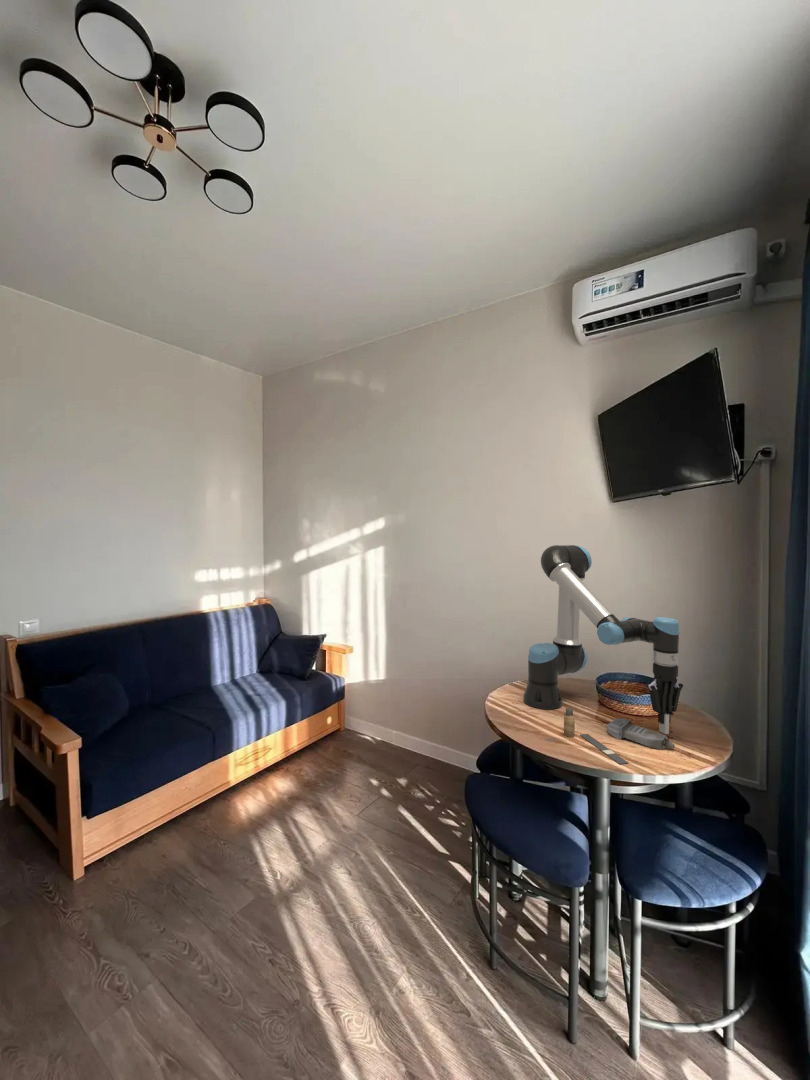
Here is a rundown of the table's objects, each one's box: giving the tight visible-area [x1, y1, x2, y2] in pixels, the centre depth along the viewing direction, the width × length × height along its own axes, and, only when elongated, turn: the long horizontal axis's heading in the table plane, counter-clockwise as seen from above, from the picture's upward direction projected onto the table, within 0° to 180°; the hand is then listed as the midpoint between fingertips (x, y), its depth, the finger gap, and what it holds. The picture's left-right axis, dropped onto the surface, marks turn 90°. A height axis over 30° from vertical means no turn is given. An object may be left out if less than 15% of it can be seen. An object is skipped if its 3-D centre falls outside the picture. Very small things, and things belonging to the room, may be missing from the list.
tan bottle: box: [563, 707, 576, 738], centre depth 154 cm, size 4×4×9 cm
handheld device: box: [606, 717, 676, 751], centre depth 150 cm, size 10×20×5 cm, turn 46°
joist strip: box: [579, 733, 629, 765], centre depth 144 cm, size 20×3×1 cm, turn 13°
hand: (663, 732), depth 153 cm, fingers closed
